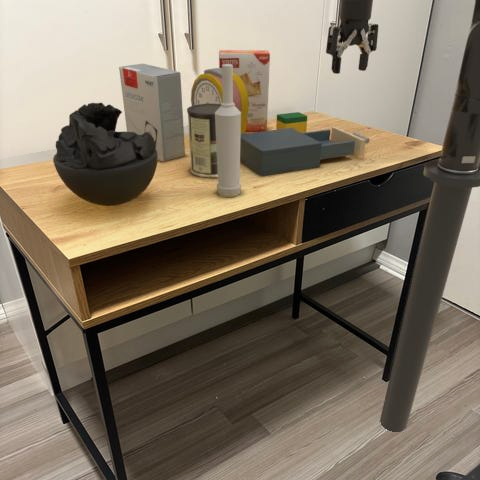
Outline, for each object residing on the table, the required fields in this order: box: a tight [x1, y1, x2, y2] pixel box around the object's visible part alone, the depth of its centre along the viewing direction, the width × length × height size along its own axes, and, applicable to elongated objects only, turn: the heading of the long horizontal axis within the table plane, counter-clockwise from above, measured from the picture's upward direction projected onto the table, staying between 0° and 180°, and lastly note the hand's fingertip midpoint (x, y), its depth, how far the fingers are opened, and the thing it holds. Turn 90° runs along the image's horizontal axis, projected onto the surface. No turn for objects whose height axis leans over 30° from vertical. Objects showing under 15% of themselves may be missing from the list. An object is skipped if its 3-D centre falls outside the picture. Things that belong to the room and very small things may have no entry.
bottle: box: [215, 64, 242, 198], centre depth 102 cm, size 5×5×25 cm
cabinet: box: [240, 128, 322, 177], centre depth 125 cm, size 16×15×6 cm
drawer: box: [303, 126, 371, 161], centre depth 130 cm, size 19×14×4 cm
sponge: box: [275, 111, 308, 133], centre depth 143 cm, size 7×5×6 cm
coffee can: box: [186, 104, 221, 178], centre depth 117 cm, size 10×10×14 cm
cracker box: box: [218, 49, 271, 132], centre depth 145 cm, size 14×6×21 cm, turn 92°
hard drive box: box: [118, 63, 186, 163], centre depth 127 cm, size 16×8×20 cm, turn 44°
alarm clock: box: [190, 67, 249, 134], centre depth 136 cm, size 15×8×18 cm, turn 42°
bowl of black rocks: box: [52, 102, 158, 207], centre depth 100 cm, size 20×20×19 cm
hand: (349, 71), depth 130 cm, fingers open, 8 cm apart
